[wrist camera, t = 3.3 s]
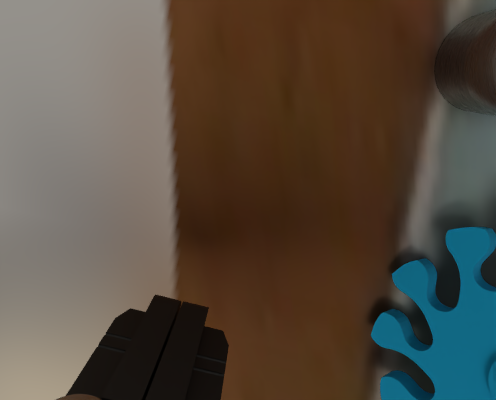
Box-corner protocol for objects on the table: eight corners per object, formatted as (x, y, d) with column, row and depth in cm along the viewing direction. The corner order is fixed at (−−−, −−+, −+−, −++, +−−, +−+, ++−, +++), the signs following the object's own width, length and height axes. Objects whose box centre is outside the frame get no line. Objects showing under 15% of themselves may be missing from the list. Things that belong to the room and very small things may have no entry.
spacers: (735, 74, 12) (1037, 73, 7) (460, 523, 19) (524, 677, 14) (457, 1, 12) (578, -49, 7) (278, 478, 18) (279, 617, 14)
